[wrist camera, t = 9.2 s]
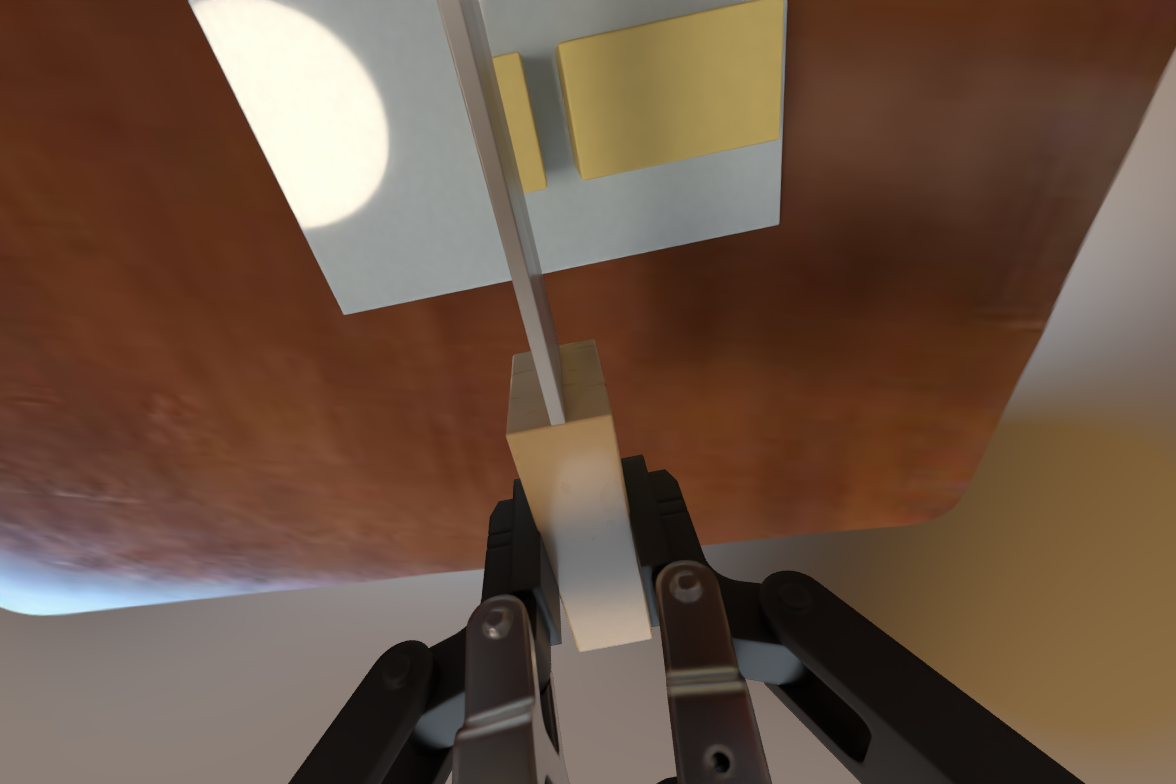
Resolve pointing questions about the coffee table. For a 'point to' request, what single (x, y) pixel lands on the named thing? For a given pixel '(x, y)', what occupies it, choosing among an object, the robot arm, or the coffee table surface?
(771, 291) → the coffee table surface
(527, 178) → the butter slice
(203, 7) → the light grey flat board
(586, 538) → the knife
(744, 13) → the butter stick
